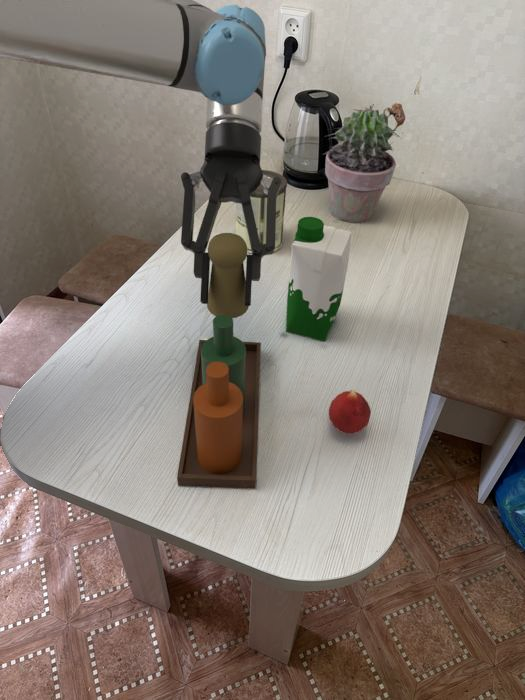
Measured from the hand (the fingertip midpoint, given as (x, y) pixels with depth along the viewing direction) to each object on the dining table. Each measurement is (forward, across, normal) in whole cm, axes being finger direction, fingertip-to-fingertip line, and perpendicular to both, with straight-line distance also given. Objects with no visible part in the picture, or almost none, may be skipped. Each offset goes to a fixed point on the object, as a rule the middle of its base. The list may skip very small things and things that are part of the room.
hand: (225, 303), depth 68 cm
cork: (0, 0, -5) cm, 5 cm away
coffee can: (-18, -4, -42) cm, 46 cm away
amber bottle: (+21, 0, -2) cm, 21 cm away
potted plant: (-29, -25, -53) cm, 65 cm away
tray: (+15, 0, -8) cm, 17 cm away
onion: (+17, -18, -7) cm, 26 cm away
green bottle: (+15, 0, -8) cm, 17 cm away
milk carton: (+1, -14, -23) cm, 27 cm away
